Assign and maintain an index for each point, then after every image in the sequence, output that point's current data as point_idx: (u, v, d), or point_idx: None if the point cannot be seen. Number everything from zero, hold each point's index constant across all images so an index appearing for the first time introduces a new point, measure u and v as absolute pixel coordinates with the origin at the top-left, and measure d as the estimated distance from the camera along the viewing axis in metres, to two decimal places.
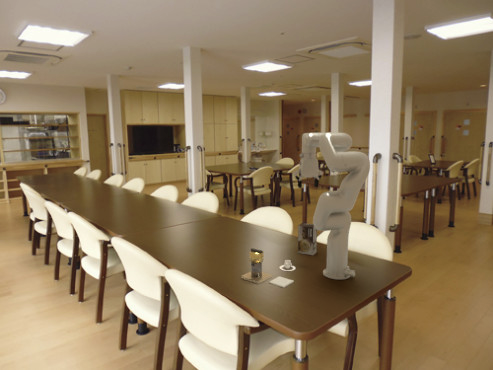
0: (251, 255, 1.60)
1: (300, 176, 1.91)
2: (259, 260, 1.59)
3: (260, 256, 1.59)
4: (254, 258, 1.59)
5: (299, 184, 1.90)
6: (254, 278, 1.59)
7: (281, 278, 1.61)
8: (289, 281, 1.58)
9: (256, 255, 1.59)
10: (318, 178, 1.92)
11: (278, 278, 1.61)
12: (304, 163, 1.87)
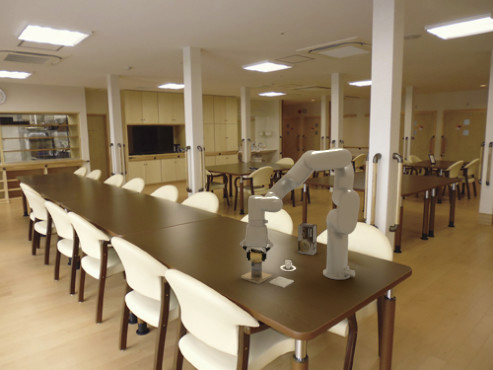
0: (251, 255, 1.60)
1: None
2: (259, 260, 1.59)
3: (260, 256, 1.59)
4: (254, 258, 1.59)
5: None
6: (254, 278, 1.59)
7: (281, 278, 1.61)
8: (289, 281, 1.58)
9: (256, 255, 1.59)
10: None
11: (278, 278, 1.61)
12: None
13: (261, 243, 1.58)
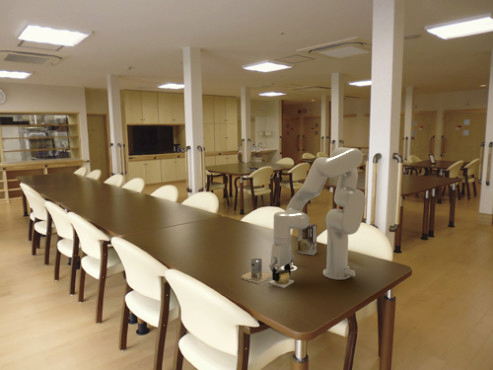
0: (283, 277, 1.55)
1: None
2: (288, 279, 1.58)
3: None
4: (286, 279, 1.55)
5: None
6: (254, 278, 1.59)
7: None
8: (289, 281, 1.58)
9: (288, 275, 1.56)
10: None
11: None
12: None
13: (289, 259, 1.57)
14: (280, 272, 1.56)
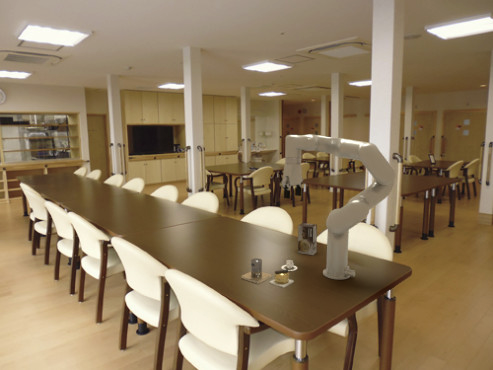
0: (283, 277, 1.55)
1: None
2: (288, 279, 1.58)
3: None
4: (287, 279, 1.55)
5: None
6: (254, 278, 1.59)
7: None
8: (289, 281, 1.58)
9: (288, 275, 1.56)
10: None
11: None
12: None
13: (299, 180, 1.68)
14: (280, 272, 1.56)
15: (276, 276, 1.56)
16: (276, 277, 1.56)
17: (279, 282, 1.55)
